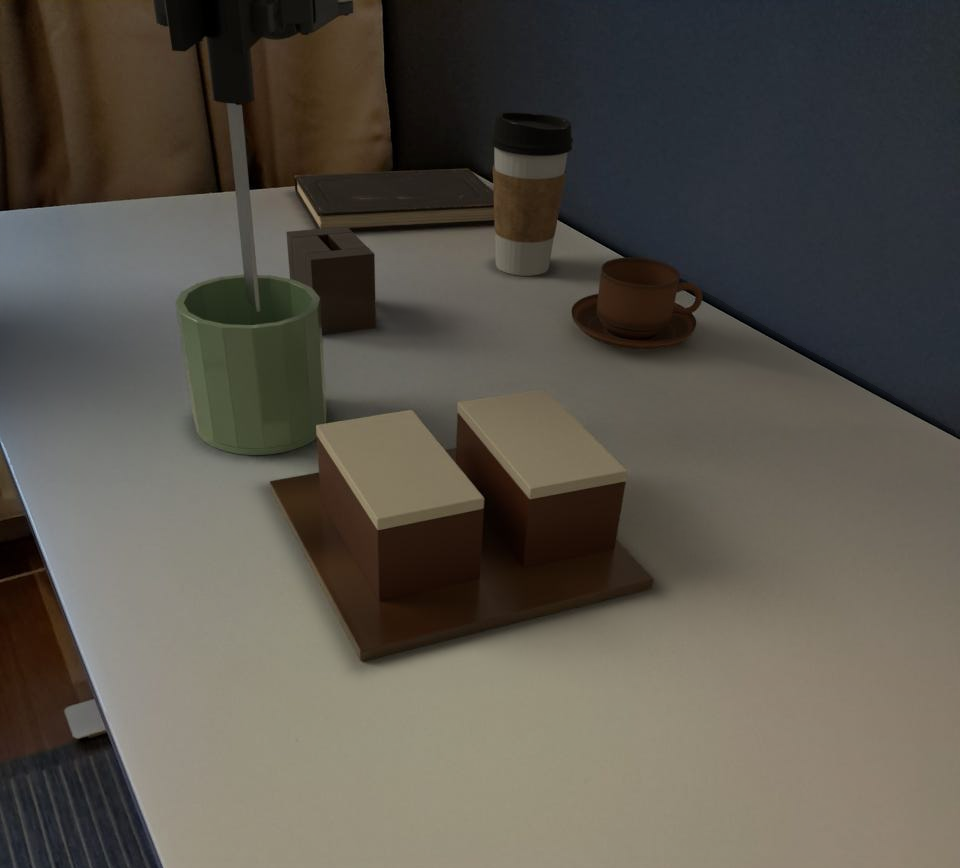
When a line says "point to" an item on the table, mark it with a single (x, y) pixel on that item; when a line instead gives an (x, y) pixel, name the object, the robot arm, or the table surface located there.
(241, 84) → the knife
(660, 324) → the cup and saucer
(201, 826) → the table surface
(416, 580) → the block
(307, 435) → the cup
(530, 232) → the coffee cup
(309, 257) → the knife block
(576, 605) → the cake board
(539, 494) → the cake slice
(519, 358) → the table surface
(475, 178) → the hardcover book
